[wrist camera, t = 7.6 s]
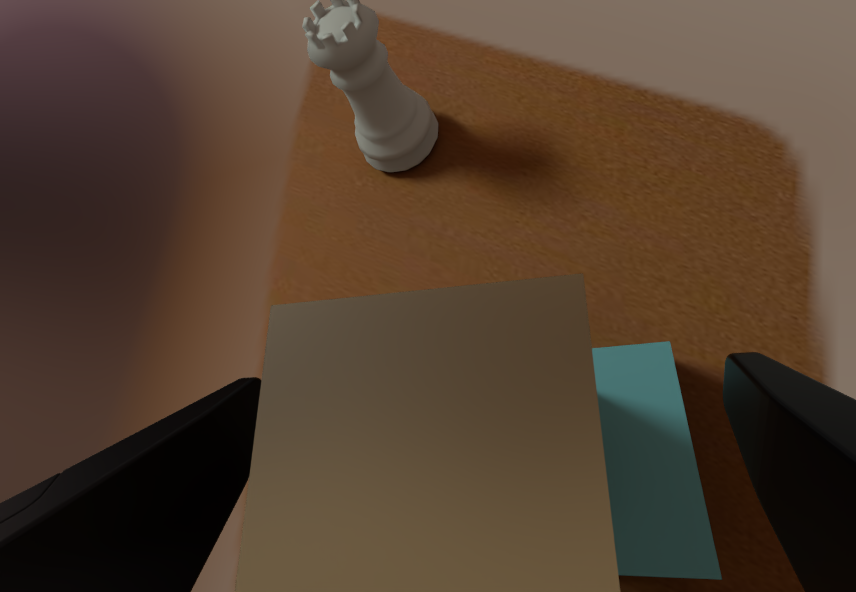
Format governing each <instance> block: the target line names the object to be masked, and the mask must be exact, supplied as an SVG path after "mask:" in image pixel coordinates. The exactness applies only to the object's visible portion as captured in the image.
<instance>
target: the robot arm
mask: <svg viewBox="0 0 856 592" xmlns="http://www.w3.org/2000/svg"><path fill="white" fill-rule="evenodd" d="M260 389H261V380H260V379H259V378H256V377H252V378H241V379H238V380H236V381H234V382H232V383H230V384H228V385H227V386H225V387H223V388H221V389H220V390H217V391H215V392H213V393H211V394H209V395H207V396H206V397H204V398H202V399H200V400H198V401H196V402H194V403H192V404H190V405H188V406H186V407H184V408H183V409H181V410H179V411H177V412H175V413H173V414H171V415H169V416H167V417H165V418H164V419H161V420H160V421H158V422H156V423H154V424H152V425H150V426H148V427H147V428H144V429H142V430H140V431H139V432H137V433H135V434H133V435H131V436H129V437H127V438H125V439H123V440H121V441H119V442H118V443H116V444H114V445H112V446H110V447H108V448H106V449H104V450H102V451H100V452H98V453H96V454H94V455H92V456H91V457H89V458H87V459H85V460H83V461H81V462H79V463H77V464H75V465H73V466H71V467H70V468H68V469H66V470H64V471H63V472H62V473H58V474H56V475H54V476H52V477H50V478H48V479H46V480H44V481H43V482H41V483H39V484H37V485H35V486H33V487H31V488H29V489H27V490H25V491H23V492H21V493H19V494H17V495H15V496H13V497H11V498H9V499H8V500H5V501H4V502H2V503H0V592H191V590H192V588H193V586H194V584H195V582H196V580H197V578H198V577H199V574H200V572H201V571H202V569H203V567H204V565H205V563H206V561H207V559H208V557H209V555H210V553H211V551H212V549H213V547H214V545H215V543H216V542H217V540H218V538H219V536H220V534H221V532H222V530H223V528H224V526H225V524H226V522H227V520H228V518H229V516H230V514H231V512H232V510H233V508H234V506H235V505H236V503H237V501H238V499H239V497H240V495H241V493H242V491H243V489H244V487H245V485H246V483H247V481H248V478H249V476H250V468H251V460H252V452H253V444H254V436H255V428H256V420H257V412H258V404H259V397H260ZM723 402H724V406H725V410H726V413H727V415H728V418H729V421H730V424H731V426H732V429H733V432H734V435H735V437H736V440H737V443H738V446H739V448H740V451H741V454H742V457H743V459H744V462H745V465H746V468H747V470H748V473H749V476H750V479H751V481H752V484H753V487H754V489H755V492H756V494H757V496H758V499H759V501H760V503H761V505H762V507H763V509H764V511H765V513H766V515H767V517H768V519H769V521H770V523H771V525H772V527H773V529H774V531H775V533H776V535H777V537H778V539H779V541H780V543H781V545H782V547H783V549H784V551H785V553H786V555H787V557H788V559H789V561H790V563H791V565H792V567H793V569H794V571H795V573H796V575H797V577H798V579H799V581H800V583H801V585H802V587H803V588H804V590H805V592H856V400H855V399H853V398H851V397H849V396H847V395H845V394H843V393H841V392H839V391H837V390H835V389H832V388H830V387H828V386H826V385H824V384H822V383H820V382H818V381H816V380H814V379H812V378H810V377H808V376H806V375H804V374H802V373H800V372H797V371H795V370H793V369H791V368H789V367H787V366H785V365H783V364H781V363H779V362H777V361H775V360H773V359H771V358H769V357H767V356H765V355H762V354H760V353H757V352H749V353H732V354H729V355H728V356H727V358H726V361H725V372H724V385H723Z"/></svg>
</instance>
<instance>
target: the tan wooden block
mask: <svg viewBox="0 0 856 592" xmlns="http://www.w3.org/2000/svg"><path fill="white" fill-rule="evenodd" d="M235 592H620V585H619V576H618V568H617V559H616V551H615V542H614V533H613V525H612V516H611V508H610V499H609V491H608V482H607V474H606V465H605V457H604V448H603V440H602V431H601V423H600V414H599V406H598V397H597V389H596V380H595V371H594V363H593V354H592V346H591V337H590V329H589V320H588V312H587V303H586V295H585V286H584V278H583V274H573V275H564V276H554V277H544V278H534V279H525V280H515V281H505V282H496V283H486V284H476V285H466V286H457V287H447V288H437V289H428V290H418V291H408V292H399V293H389V294H379V295H369V296H360V297H350V298H340V299H331V300H321V301H311V302H301V303H292V304H282V305H272V306H271V309H270V317H269V325H268V333H267V341H266V349H265V357H264V365H263V373H262V381H261V389H260V397H259V404H258V412H257V420H256V428H255V436H254V444H253V452H252V460H251V468H250V476H249V484H248V492H247V499H246V507H245V515H244V523H243V531H242V539H241V547H240V555H239V563H238V571H237V579H236V586H235Z"/></svg>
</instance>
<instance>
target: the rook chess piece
mask: <svg viewBox="0 0 856 592" xmlns="http://www.w3.org/2000/svg"><path fill="white" fill-rule="evenodd" d="M331 2H332V4H333V5H331V6H330V7H328V8H326V9H324V7H323V6H322V4H321V3H320V1H319V0H318V1H317V2H315V4H314V5H312V6H311V7H310V10H311V11H312V13H313V15H314V16H315V18H316V19H315V20H314V22H313V21H312V20H311V18H310V17H308V18H304V21H303V29H304V30H305V32H306V34H305V36H306V37H307V39H308V49H307V51H308V54H309V57H310V60H311V61H312V62H314V63H315V64H316V65H317V66H319V67H323V68H326V69H330V70H331V73H330V77H331V80H332V83H333V84H334V85H335V86H336V87H338V88H339V89H342V90H343V92H344V93H345V95H346V96H347V98H348V100H349V102H350V104H351V107H352V109H353V111H354V113H355V122H354V123H355V126H356V130H355V135H356V139H357V142H358V145H359V148H360V150H361V151H362V152H363V153H364V155H365V158H366V161H367V162H368V163H369V164H371V165H372V166H373V167H374V168H375V169H378V170H382V171H386V172H398V171H405V170H408V169H410V168H412V167H414V166H416V165H418V164H420V163H421V162H422V161H423V160H424V159H425V158H426V157H427V156H428V155H429V153H430V151H431V150H432V147H433V145H434V143H435V141H436V139H437V137H438V122H437V120H436V117H435V115H434V113H433V112H432V111H431V109H430V107H429V105H428V102H427V101H426V100H425V99H424V98H423V97H422V96H420V95H419V94H418V93H416V92H415V91H413V90H411V89H410V88H408V87H407V86H405V85H403V84H402V83H401V81H400V80H399V79H398V77H397V76H396V74H395V73H394V72H393V70H392V69H391V67H390V66H389V64H388V62H387V57H388V52H387V50H386V47H385V45H384V44H382V43H381V42H379V41H378V40H376V37H377V32H378V23H379V20H378V18H377V16H376V13H375V11H373V10H372V9H370V8H369V7H367V6H365V5H362V4H361V3H360V2H359V0H347V1H345V0H331Z"/></svg>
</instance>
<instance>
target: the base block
mask: <svg viewBox="0 0 856 592" xmlns="http://www.w3.org/2000/svg"><path fill="white" fill-rule="evenodd" d="M592 354H593V363H594V371H595V380H596V389H597V397H598V406H599V414H600V423H601V431H602V440H603V448H604V457H605V465H606V474H607V482H608V491H609V499H610V508H611V516H612V525H613V533H614V542H615V551H616V559H617V568H618V575H626V576H649V577H673V578H696V579H720V580H722V577H721V572H720V568H719V563H718V559H717V554H716V550H715V545H714V541H713V536H712V531H711V527H710V522H709V518H708V513H707V509H706V504H705V500H704V495H703V490H702V486H701V481H700V477H699V472H698V468H697V463H696V459H695V454H694V449H693V445H692V440H691V436H690V431H689V427H688V422H687V418H686V413H685V408H684V404H683V399H682V395H681V390H680V386H679V381H678V377H677V372H676V368H675V363H674V358H673V354H672V349H671V345H670V341H669V342H658V343H647V344H636V345H625V346H614V347H603V348H592Z"/></svg>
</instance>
